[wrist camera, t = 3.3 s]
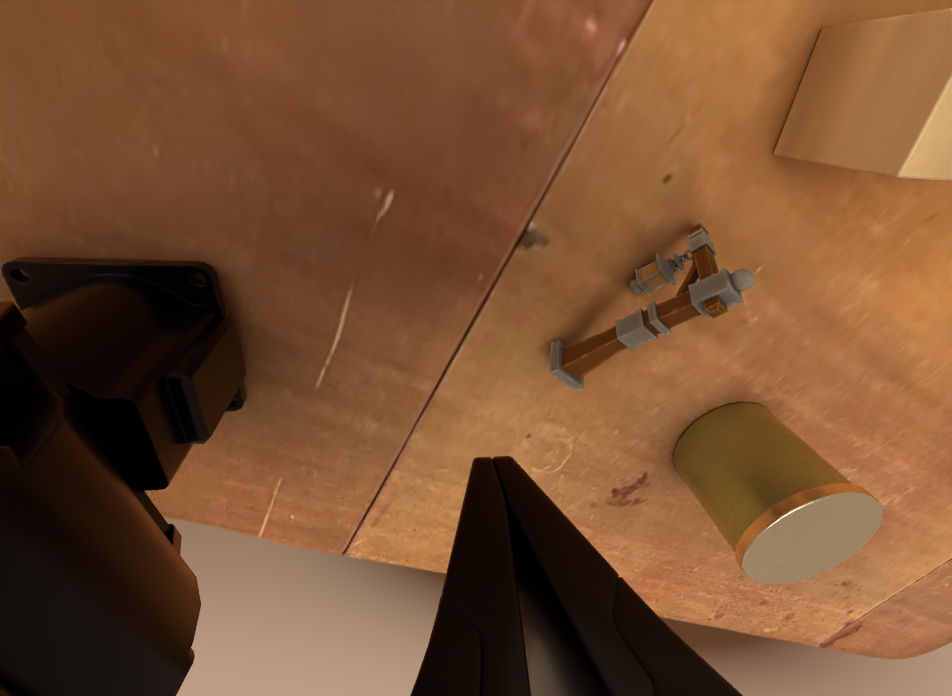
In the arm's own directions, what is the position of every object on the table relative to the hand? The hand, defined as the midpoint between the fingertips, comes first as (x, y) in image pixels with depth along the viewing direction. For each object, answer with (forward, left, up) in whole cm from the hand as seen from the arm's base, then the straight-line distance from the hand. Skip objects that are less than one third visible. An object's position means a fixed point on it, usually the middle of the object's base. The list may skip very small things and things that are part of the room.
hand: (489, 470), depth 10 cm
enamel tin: (+16, -9, -10) cm, 21 cm away
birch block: (+16, +8, -10) cm, 20 cm away
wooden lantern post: (+7, 0, -10) cm, 12 cm away
